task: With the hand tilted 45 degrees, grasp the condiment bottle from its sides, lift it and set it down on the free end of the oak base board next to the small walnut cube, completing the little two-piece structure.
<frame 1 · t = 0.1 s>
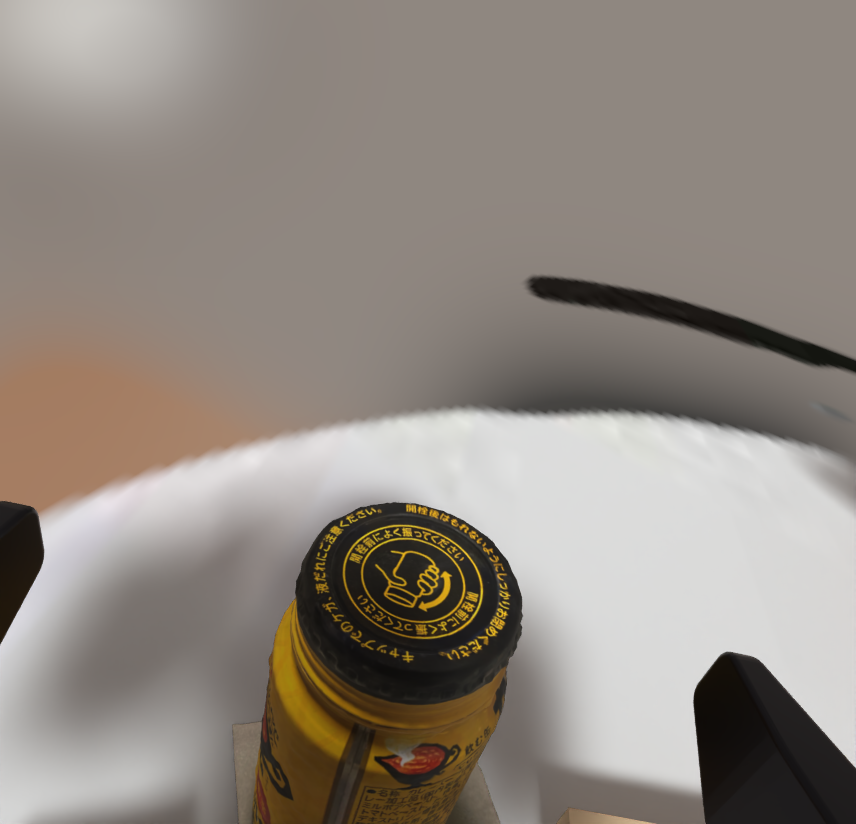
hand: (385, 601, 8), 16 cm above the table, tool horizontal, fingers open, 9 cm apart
condiment: (369, 812, 22), on the table
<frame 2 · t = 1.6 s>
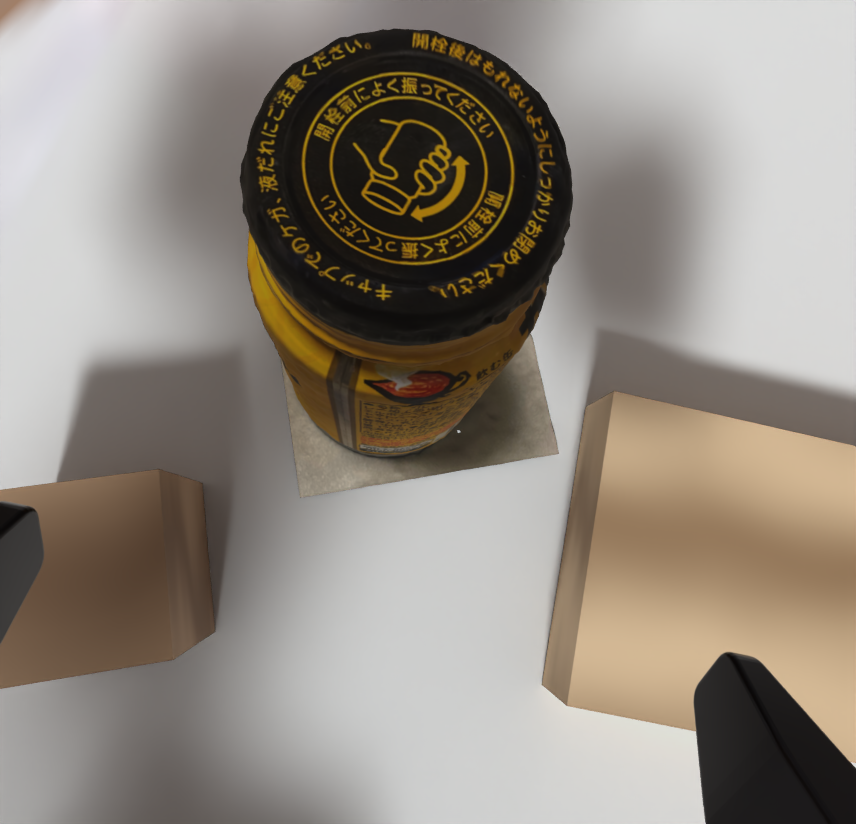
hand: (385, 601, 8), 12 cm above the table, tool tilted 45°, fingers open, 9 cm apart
foundation: (768, 583, 21), on the table
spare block: (133, 567, 20), on the table
condiment: (412, 370, 22), on the table
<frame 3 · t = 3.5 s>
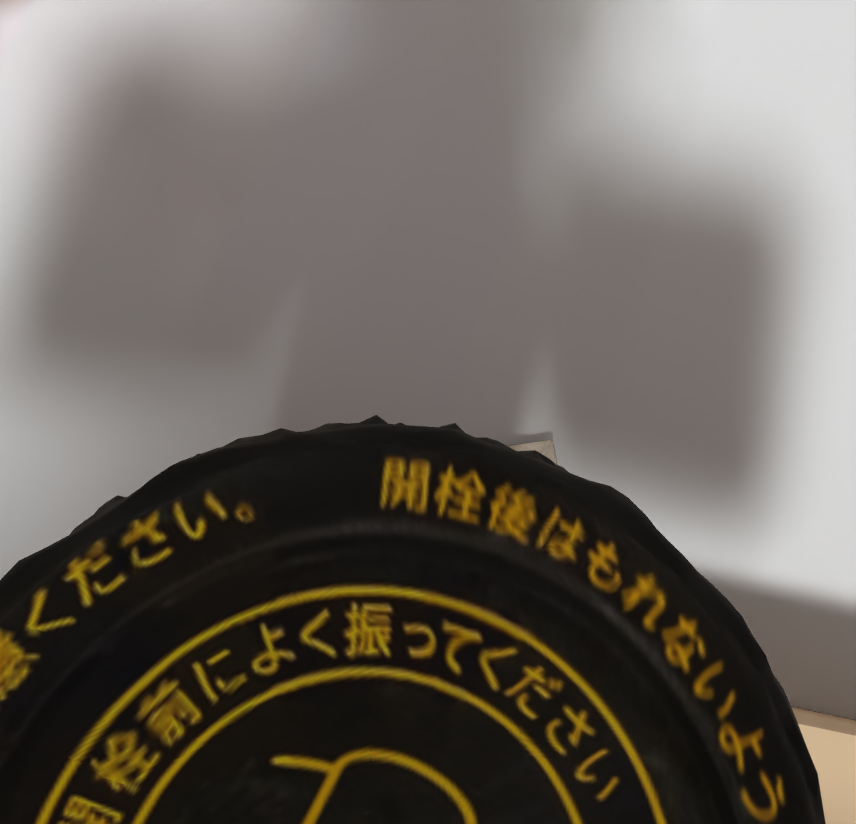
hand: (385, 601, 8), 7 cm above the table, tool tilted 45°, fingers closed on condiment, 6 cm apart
condiment: (401, 620, 15), on the table, touching gripper
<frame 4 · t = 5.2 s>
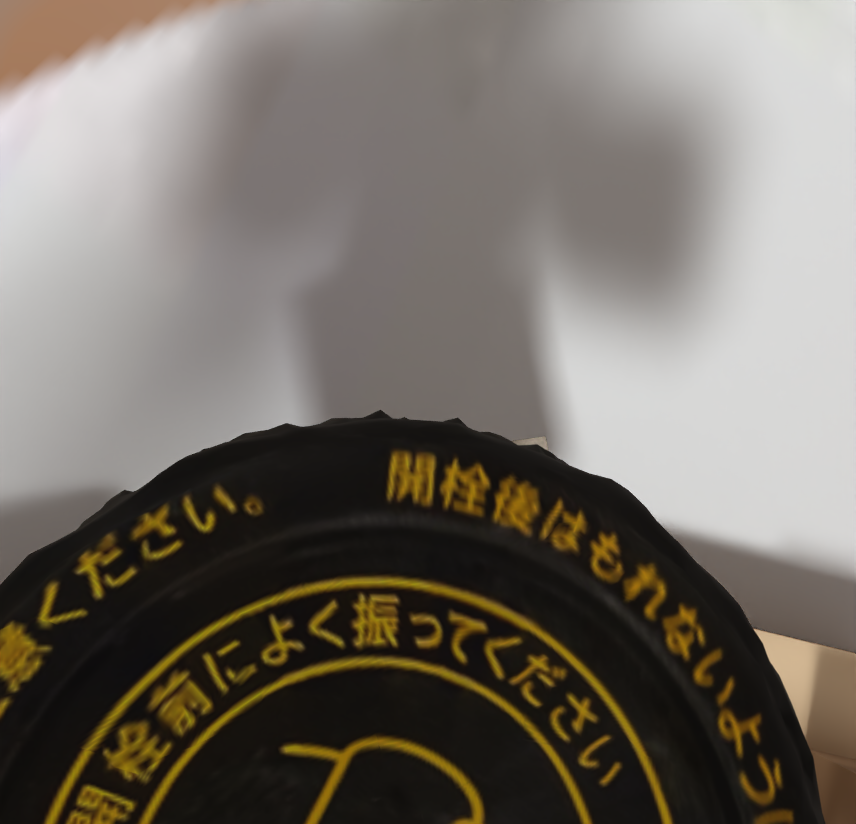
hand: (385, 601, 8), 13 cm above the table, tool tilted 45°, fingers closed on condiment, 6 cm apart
foundation: (647, 746, 21), on the table
condiment: (396, 616, 15), point 6 cm above the table, touching gripper
when the fingers open (10 cm above the table, at t = 6.8 s): condiment stays where it is, resting on foundation.
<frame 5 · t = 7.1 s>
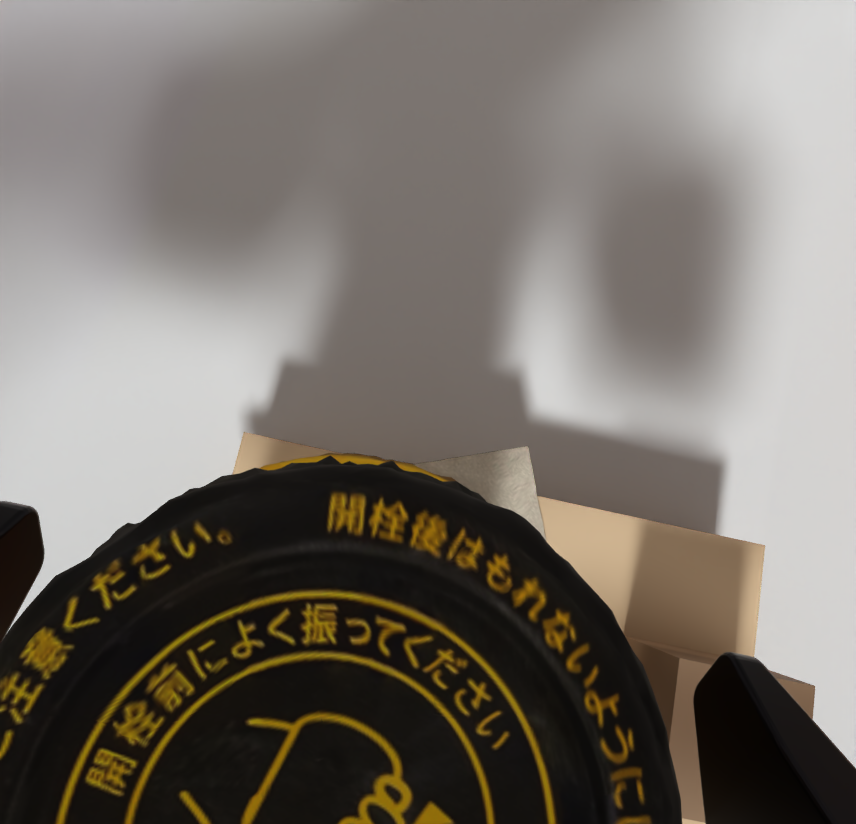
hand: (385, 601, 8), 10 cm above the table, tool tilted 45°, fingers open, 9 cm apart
foundation: (462, 651, 18), on the table
condiment: (389, 617, 16), point 2 cm above the table, touching foundation
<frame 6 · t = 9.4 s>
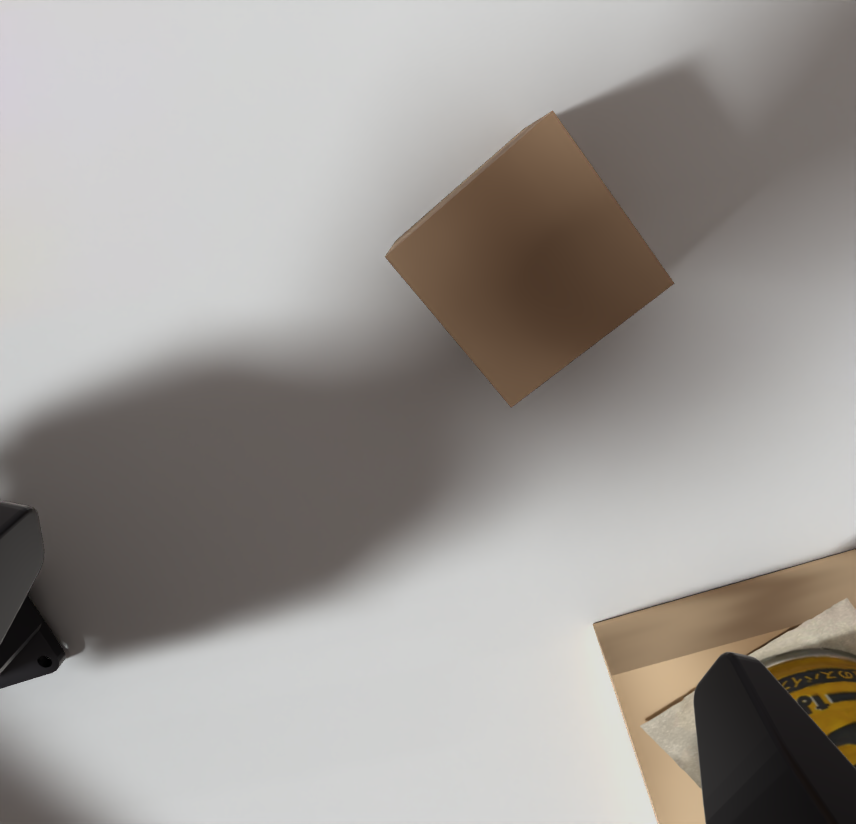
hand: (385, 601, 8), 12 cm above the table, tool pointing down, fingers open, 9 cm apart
foundation: (758, 739, 24), on the table
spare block: (507, 250, 18), on the table
condiment: (803, 735, 21), point 2 cm above the table, touching foundation
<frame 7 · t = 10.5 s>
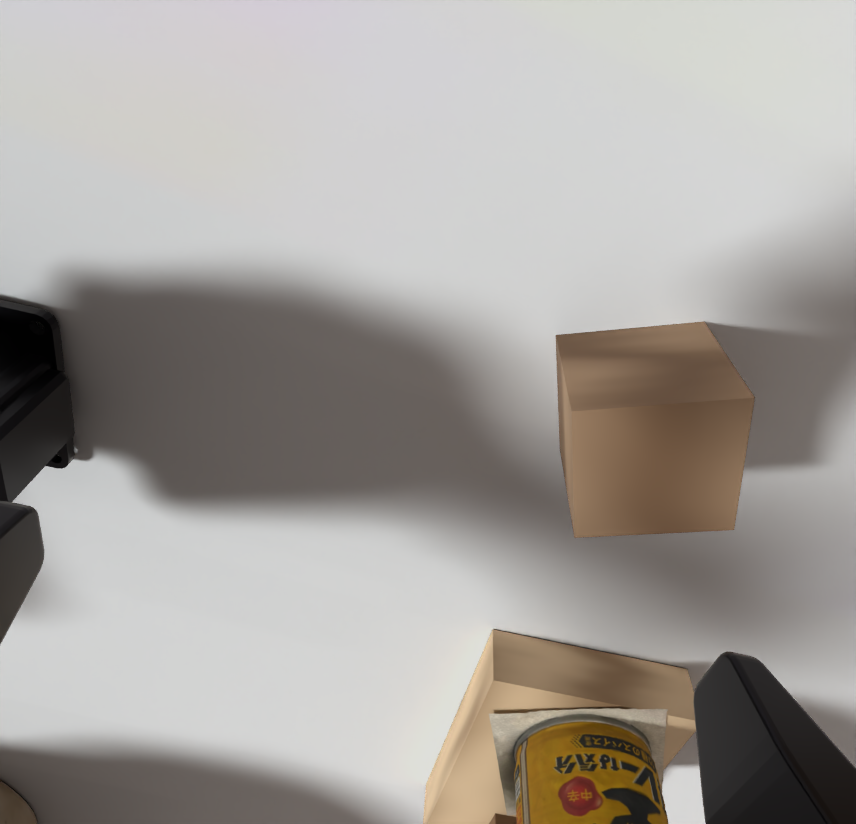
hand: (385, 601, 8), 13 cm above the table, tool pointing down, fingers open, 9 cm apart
foundation: (542, 733, 32), on the table
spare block: (626, 388, 21), on the table
condiment: (578, 756, 29), point 2 cm above the table, touching foundation
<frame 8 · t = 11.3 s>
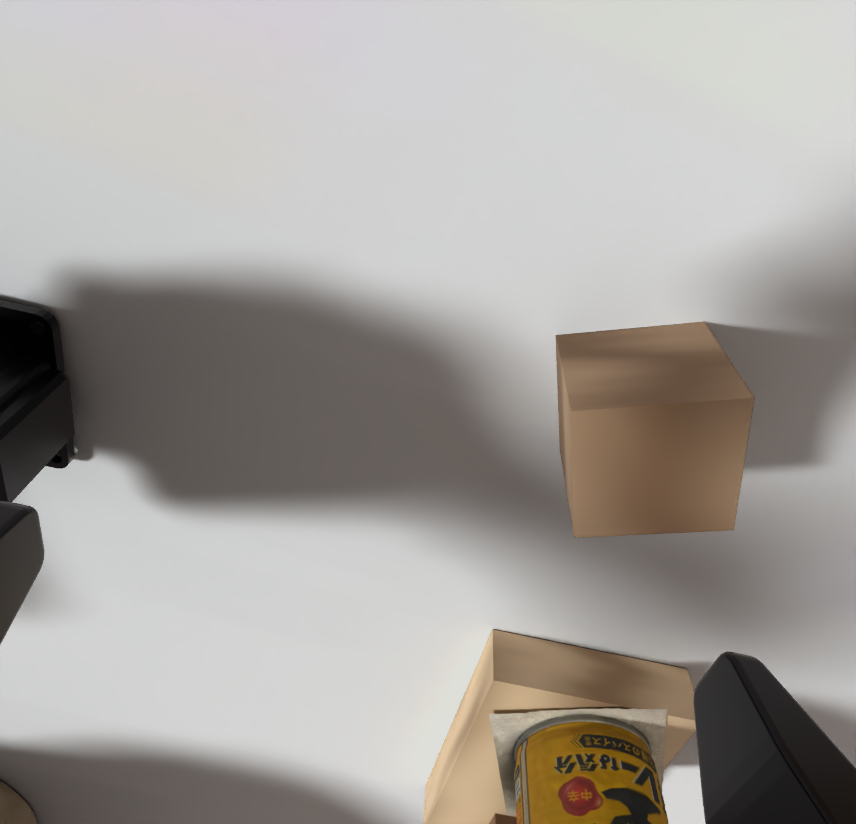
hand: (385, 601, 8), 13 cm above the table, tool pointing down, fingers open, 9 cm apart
foundation: (542, 733, 32), on the table
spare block: (626, 388, 21), on the table
condiment: (578, 756, 29), point 2 cm above the table, touching foundation
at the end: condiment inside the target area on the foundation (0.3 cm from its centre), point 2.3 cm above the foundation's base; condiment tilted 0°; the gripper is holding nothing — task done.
